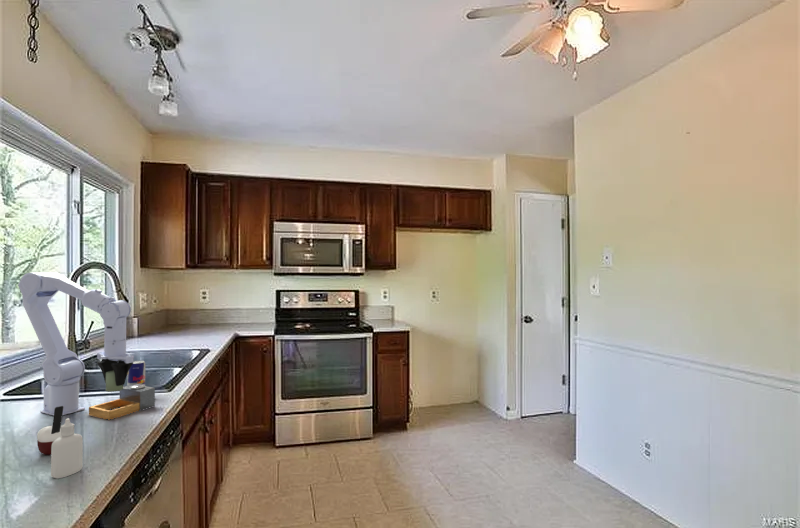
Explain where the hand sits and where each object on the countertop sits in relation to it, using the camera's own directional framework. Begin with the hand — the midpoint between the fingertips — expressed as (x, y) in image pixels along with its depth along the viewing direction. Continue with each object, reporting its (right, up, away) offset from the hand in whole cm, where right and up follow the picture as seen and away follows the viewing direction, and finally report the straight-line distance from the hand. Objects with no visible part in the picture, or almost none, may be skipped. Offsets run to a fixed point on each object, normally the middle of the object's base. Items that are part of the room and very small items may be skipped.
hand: (114, 384), depth 140 cm
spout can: (0, -2, +1) cm, 2 cm away
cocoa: (+3, -9, -29) cm, 31 cm away
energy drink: (-3, -9, +17) cm, 19 cm away
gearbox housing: (+1, -9, +2) cm, 9 cm away
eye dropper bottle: (+15, -9, -40) cm, 43 cm away
